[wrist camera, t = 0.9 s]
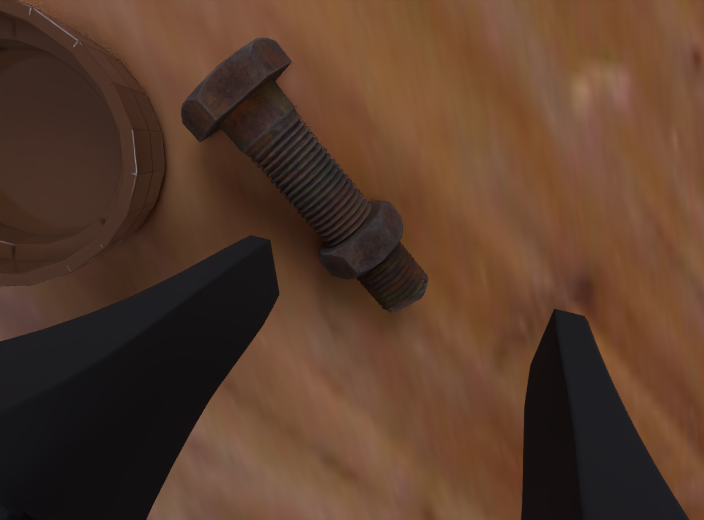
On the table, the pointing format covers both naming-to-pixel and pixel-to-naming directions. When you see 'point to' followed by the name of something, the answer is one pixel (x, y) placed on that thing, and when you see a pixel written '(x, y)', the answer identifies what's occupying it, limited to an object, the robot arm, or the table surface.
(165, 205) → the table surface
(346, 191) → the bolt
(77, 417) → the robot arm
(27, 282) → the bowl
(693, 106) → the table surface
